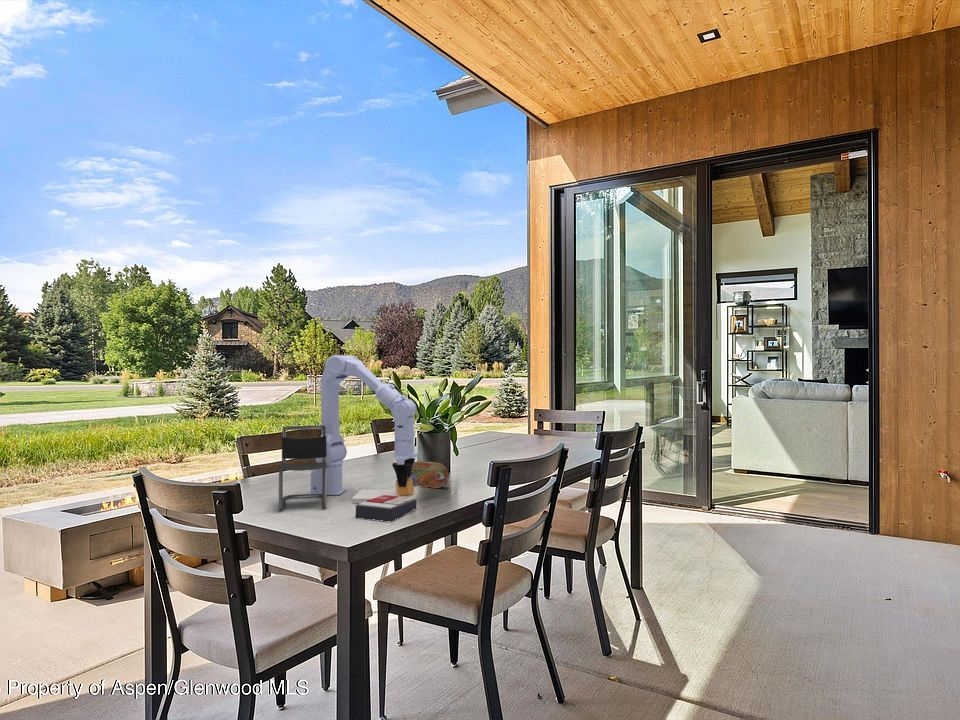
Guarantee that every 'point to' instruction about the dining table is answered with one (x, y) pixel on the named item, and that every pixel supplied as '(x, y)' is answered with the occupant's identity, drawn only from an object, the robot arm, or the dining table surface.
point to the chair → (303, 451)
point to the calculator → (385, 507)
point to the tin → (429, 474)
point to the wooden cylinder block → (405, 488)
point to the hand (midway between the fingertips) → (403, 484)
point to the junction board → (378, 495)
